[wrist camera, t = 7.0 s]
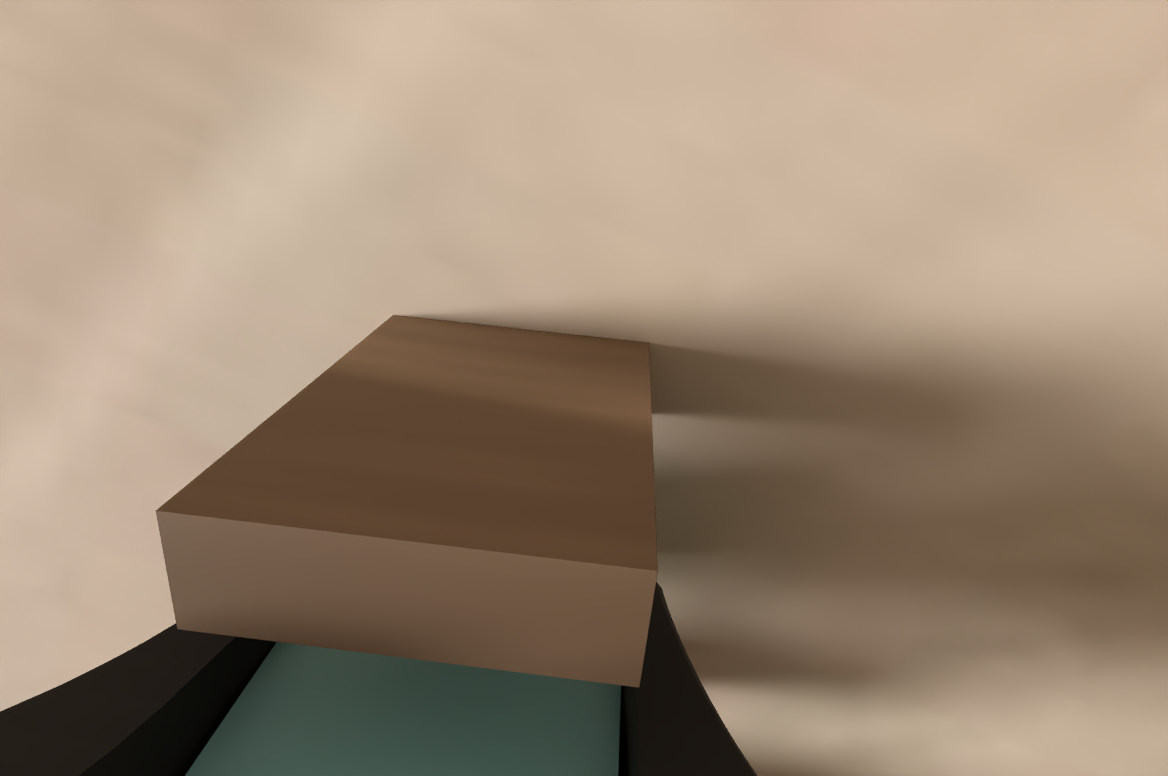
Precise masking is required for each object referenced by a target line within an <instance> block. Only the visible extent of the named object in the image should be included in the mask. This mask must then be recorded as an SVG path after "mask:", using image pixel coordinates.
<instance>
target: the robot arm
mask: <svg viewBox="0 0 1168 776" xmlns="http://www.w3.org/2000/svg"><path fill="white" fill-rule="evenodd" d="M275 644H276V642H275V641H267V640H260V639H252V638H244V637H236V636H228V635H220V634H212V633H204V632H196V631H189V630H181V629H177V624H174V625H172V626H171V627H169V628H167V629H166V630H164V631H162V632H161V633H159V634H157V635H156V636H154V637H152V638H151V639H149V640H147V641H145V642H144V643H142V644H140V645H138V646H136V647H135V648H133V649H131V650H129V651H127V652H125V653H124V654H122V655H120V656H118V657H116V658H114V659H112V660H110V661H108V662H106V663H104V664H102V665H100V666H98V667H96V668H94V669H92V670H90V671H88V672H86V673H84V674H82V675H80V676H78V677H76V678H74V679H72V680H70V681H68V682H66V683H64V684H62V685H60V686H58V687H56V688H53V689H51V690H49V691H46V692H44V693H42V694H40V695H37V696H35V697H33V698H30V699H28V700H26V701H24V702H21V703H19V704H17V705H14V706H12V707H10V708H8V709H5V710H3V711H1V712H0V776H185V775H186V774H187V772H188V771H189V769H190V768H191V766H192V765H193V763H194V762H195V760H196V759H197V757H198V756H199V755H200V753H201V752H202V750H203V749H204V747H205V746H206V744H207V743H208V741H209V740H210V738H211V737H212V736H213V734H214V733H215V731H216V730H217V728H218V727H219V725H220V724H221V722H222V721H223V720H224V718H225V717H226V715H227V714H228V712H229V711H230V709H231V708H232V706H233V705H234V703H235V702H236V701H237V699H238V698H239V696H240V695H241V693H242V692H243V690H244V689H245V687H246V686H247V685H248V683H249V682H250V680H251V679H252V677H253V676H254V674H255V673H256V671H257V670H258V668H259V667H260V666H261V664H262V663H263V661H264V660H265V658H266V657H267V655H268V654H269V652H270V651H271V649H272V648H273V647H274V645H275ZM618 776H757V775H756V773H755V772H754V770H753V769H752V767H751V766H750V764H749V763H748V761H747V760H746V758H745V757H744V755H743V754H742V752H741V751H740V749H739V748H738V746H737V744H736V743H735V741H734V740H733V738H732V736H731V735H730V733H729V732H728V730H727V728H726V727H725V725H724V723H723V722H722V720H721V718H720V716H719V714H718V713H717V711H716V709H715V707H714V706H713V704H712V702H711V700H710V699H709V697H708V695H707V693H706V691H705V689H704V687H703V686H702V684H701V682H700V680H699V678H698V676H697V674H696V671H695V669H694V667H693V665H692V663H691V661H690V659H689V657H688V655H687V653H686V651H685V649H684V646H683V644H682V642H681V640H680V637H679V635H678V633H677V630H676V628H675V625H674V623H673V620H672V618H671V615H670V613H669V610H668V607H667V604H666V601H665V598H664V595H663V591H662V588H661V587H660V586H659V584H658V583H657V582H656V585H655V591H654V598H653V604H652V610H651V617H650V623H649V629H648V636H647V642H646V648H645V655H644V661H643V667H642V674H641V680H640V686H639V688H638V687H630V686H622V685H621V705H620V736H619V767H618Z"/></svg>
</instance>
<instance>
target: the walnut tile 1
mask: <svg viewBox="0 0 1168 776" xmlns="http://www.w3.org/2000/svg"><path fill="white" fill-rule="evenodd" d="M156 514H157V520H158V525H159V531H160V536H161V542H162V547H163V553H164V558H165V564H166V569H167V575H168V580H169V586H170V591H171V597H172V602H173V608H174V613H175V619H176V624H177V629H181V630H189V631H196V632H204V633H212V634H220V635H228V636H236V637H244V638H252V639H260V640H267V641H275V642H283V643H291V644H299V645H307V646H315V647H323V648H331V649H338V650H346V651H354V652H362V653H370V654H378V655H386V656H394V657H402V658H409V659H417V660H425V661H433V662H441V663H449V664H457V665H465V666H473V667H480V668H488V669H496V670H504V671H512V672H520V673H528V674H536V675H544V676H551V677H559V678H567V679H575V680H583V681H591V682H599V683H607V684H615V685H622V686H630V687H638V688H639V686H640V680H641V674H642V667H643V661H644V655H645V648H646V642H647V636H648V629H649V623H650V617H651V610H652V604H653V598H654V591H655V585H656V579H657V572H658V566H657V540H656V514H655V489H654V463H653V437H652V411H651V386H650V360H649V343H646V342H636V341H627V340H618V339H608V338H599V337H590V336H581V335H571V334H562V333H553V332H543V331H534V330H525V329H516V328H506V327H497V326H488V325H478V324H469V323H460V322H451V321H441V320H432V319H423V318H413V317H404V316H395V315H393V316H392V317H390V318H389V319H388V320H387V321H386V322H384V323H383V324H382V325H381V326H380V327H378V328H377V329H376V330H375V331H373V332H372V333H371V334H370V335H369V336H367V337H366V338H365V339H364V340H363V341H361V342H360V343H359V344H358V345H356V346H355V347H354V348H353V349H352V350H350V351H349V352H348V353H347V354H346V355H344V356H343V357H342V358H341V359H339V360H338V361H337V362H336V363H335V364H333V365H332V366H331V367H330V368H329V369H327V370H326V371H325V372H324V373H323V374H321V375H320V376H319V377H318V378H316V379H315V380H314V381H313V382H312V383H310V384H309V385H308V386H307V387H306V388H304V389H303V390H302V391H301V392H299V393H298V394H297V395H296V396H295V397H293V398H292V399H291V400H290V401H289V402H287V403H286V404H285V405H284V406H282V407H281V408H280V409H279V410H278V411H276V412H275V413H274V414H273V415H272V416H270V417H269V418H268V419H267V420H265V421H264V422H263V423H262V424H261V425H259V426H258V427H257V428H256V429H255V430H253V431H252V432H251V433H250V434H248V435H247V436H246V437H245V438H244V439H242V440H241V441H240V442H239V443H238V444H236V445H235V446H234V447H233V448H231V449H230V450H229V451H228V452H227V453H225V454H224V455H223V456H222V457H221V458H219V459H218V460H217V461H216V462H215V463H213V464H212V465H211V466H210V467H208V468H207V469H206V470H205V471H204V472H202V473H201V474H200V475H199V476H198V477H196V478H195V479H194V480H193V481H191V482H190V483H189V484H188V485H187V486H185V487H184V488H183V489H182V490H181V491H179V492H178V493H177V494H176V495H174V496H173V497H172V498H171V499H170V500H168V501H167V502H166V503H165V504H164V505H162V506H161V507H160V508H159V509H157V510H156Z"/></svg>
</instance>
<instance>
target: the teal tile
mask: <svg viewBox="0 0 1168 776" xmlns="http://www.w3.org/2000/svg"><path fill="white" fill-rule="evenodd" d="M620 705H621V685H615V684H607V683H599V682H591V681H583V680H575V679H567V678H559V677H551V676H544V675H536V674H528V673H520V672H512V671H504V670H496V669H488V668H480V667H473V666H465V665H457V664H449V663H441V662H433V661H425V660H417V659H409V658H402V657H394V656H386V655H378V654H370V653H362V652H354V651H346V650H338V649H331V648H323V647H315V646H307V645H299V644H291V643H283V642H276V644H275V645H274V647H273V648H272V649H271V651H270V652H269V654H268V655H267V657H266V658H265V660H264V661H263V663H262V664H261V666H260V667H259V668H258V670H257V671H256V673H255V674H254V676H253V677H252V679H251V680H250V682H249V683H248V685H247V686H246V687H245V689H244V690H243V692H242V693H241V695H240V696H239V698H238V699H237V701H236V702H235V703H234V705H233V706H232V708H231V709H230V711H229V712H228V714H227V715H226V717H225V718H224V720H223V721H222V722H221V724H220V725H219V727H218V728H217V730H216V731H215V733H214V734H213V736H212V737H211V738H210V740H209V741H208V743H207V744H206V746H205V747H204V749H203V750H202V752H201V753H200V755H199V756H198V757H197V759H196V760H195V762H194V763H193V765H192V766H191V768H190V769H189V771H188V772H187V774H186V775H185V776H618V767H619V736H620Z"/></svg>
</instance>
